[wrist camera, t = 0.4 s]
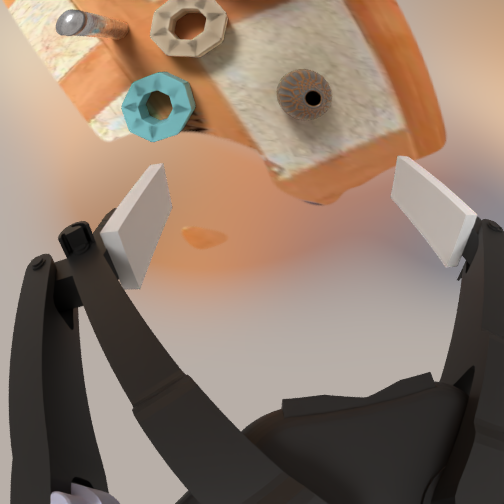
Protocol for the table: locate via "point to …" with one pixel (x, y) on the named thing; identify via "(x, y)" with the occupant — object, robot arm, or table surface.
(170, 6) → the bead birch
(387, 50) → the table surface
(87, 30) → the capped vial
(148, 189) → the robot arm
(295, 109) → the vase
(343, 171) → the table surface
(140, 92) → the bead teal
